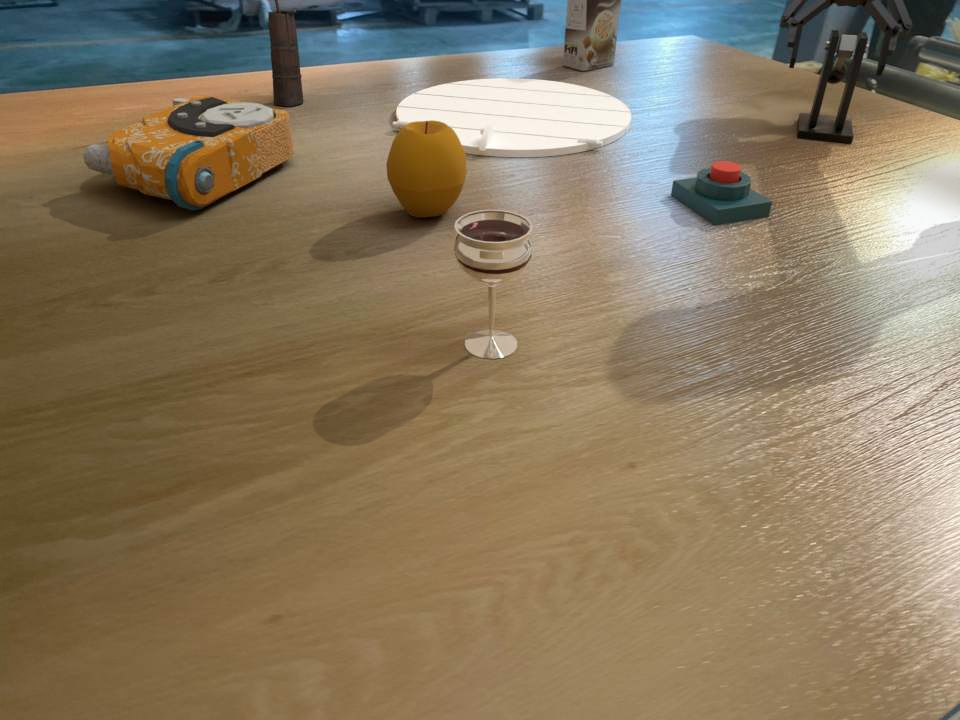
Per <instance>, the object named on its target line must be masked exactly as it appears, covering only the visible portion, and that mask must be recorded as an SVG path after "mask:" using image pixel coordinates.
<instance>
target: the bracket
mask: <svg viewBox="0 0 960 720" xmlns="http://www.w3.org/2000/svg"><path fill="white" fill-rule="evenodd" d="M839 40H840V32H839V29H837V30H836V29H832V30H831V31H830V35H829V39H826V40H825V44H824V48H823V50H824V51H825V55H824V59H823V62H822V66H821V71H820V73H819V74H820V75H819V78H818V82H817V85H816V90H815V93H814V97H813V102H812V105H811V109H810V113H808V112H806V113H805V112H799V114H798V118H797V132H796V133H797V134H796V136H797V137H796V138H797V139H803V140H812V141H821V142H829V143H839V144H847V145H848V144H849V145H852V143H853V140H854V131H853V123H852V118H851V117H847V115H848V113H849V108H850V105H851V102H852V99H853V94H854V92H855V88H856V85H857V80H858V77H859V75H860V74H859V73H860V69H861V67H862V63H863V59H864V57H865V56H864V55H865V54H867V53H868V51H869V50H868V49H869V47H870V43H868V42H869V36H868V33H867V32H863V31H859V33H858V36H857V41H856V45H855V50H854V53H853V55H852V57H851V62H850V66H849V70H848V72H847V77H846V81H845V84H844V88H843V91H842V96H841V99H840V103H839V105H838V110H837V114H836V116H835V115H827V114H820V112H821V109H822V104H823V101H824V97H825V93H826V89H827V85H828V78H829V74H830V70H831V67H832V63H833V61H834V59H835V56H836V52H837V48H838V43H839Z"/></svg>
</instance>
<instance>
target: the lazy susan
mask: <svg viewBox="0 0 960 720" xmlns="http://www.w3.org/2000/svg"><path fill="white" fill-rule="evenodd" d="M395 117H396V121H393V122H392V127H393V128H398V129H400V130H401V129H402V128H403V127H404V126H406V125H407V124H409V123H411V122H417V121H431V120H433V121H440V122H442V123H445V124H446V125H448V126H449V127H451V128H452V129H453V130H454V132H455V133H456V135H457V136H458V138H459V140H460V143H461V145H462V147H463V149H464V151H465V154H467V155H475V156H483V157H484V156H485V157H497V158H545V157H547V158H548V157H557V156H565V155H572V154H577V153H582V152H583V153H584V152H588V151H591V150H595V149H599V148H603V147H604V146H608V145H609V144H612V143H614V142H616V141H618V140H620V139H621V138H622V137H623V136H624V135H625V134H627V133H628V131H629V130H630V128H631V124H632V112H631V110H630V108H629V107H628V106H627V105H626V104H625V103H624V102H623V101H621V100H620V99H618V98H616V97H614V96H612V95H611V94H608V93H605V92H603V91H601V90H597V89H594V88H590V87H586V86H583V85H579V84H573V83H568V82H562V81H555V80H546V79H538V78H537V79H536V78H519V77H517V78H516V77H515V78H513V77H511V78H510V77H498V78H497V77H496V78H495V77H494V78H481V79H480V78H477V79H468V80H459V81H453V82H448V83H442V84H438V85H434V86H430V87H427V88H424V89H421V90H418V91H416V92H414V93H412V94H409V95H408V96H407V97H405V98H403V99H402V100H401V101H400V102H399V104H398V105H397V106H396V110H395Z"/></svg>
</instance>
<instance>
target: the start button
mask: <svg viewBox="0 0 960 720" xmlns="http://www.w3.org/2000/svg"><path fill="white" fill-rule="evenodd" d="M710 168H711V170H710V175H709V179H711V180H712V181H716V182H719V183H729V184H731V183H737V182H738V181H739V176H740V172H742V166H741V165H740V164H738V163H737V162H732V161H726V160H721V161H719V160H718V161H713V162H712V163H711V165H710Z"/></svg>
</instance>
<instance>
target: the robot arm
mask: <svg viewBox="0 0 960 720" xmlns="http://www.w3.org/2000/svg"><path fill="white" fill-rule="evenodd" d="M808 1H809V0H792V1H791V3H790V4H788V6H787V8H786V9H784V11H783V13H781V17H780V20H779V24H778V26H779V28H781V29H784V28H786V29H787V30H788V35H787V40H786V47H787V48H792V51H791V56H790V61H789V65H788V68H789V69H794V68H795V65H796V61H797V57H798V52H799V47H800V42H801V37H802V33H803V28H804V26H805V25H806V24H808V23H809V22H810V21H812V19H814V18H815V17H816V16H818V15H819V14H820V13H822V12H823V11H824V10H827V9H829V8H830V7H832V6H833V5H834V4H835V5H836V7H850V8H857V7H861V9H862V10H863V11H864V12H866V13H868V14H869V16H870V17H871V18H872V19H873V21H874V22H875V23H876V25H877V26H878V28H879V29H880V30H881V31H882V32H883V34H884V35H883V38H882V40H881V46H880V50H879V56H878V62H877V66H876V72H875V76H877V77H881V76H882V74H883V72H884V70H885V68H886V64H887V60H888V56H890V57H892V56H893V55H894V53H895V51H896V49H897V42H898V39H899V38H900V37H902V38H907V36H909V34H910V32H911V30H912V28H913V25H914V24H913V21H912V19H911V16H910V14H909V11H908V9H907V6H906V4H905V2H904V0H886V3H887V6H888V8H889V10H888V9H887V8H886V7H885V5H884V4H883V3H882V1H881V0H814V1H813V2H812V3H810V4H809V5H808V6H807V7H805V8H804V9H803V10H801V9H802V8H803V7H804V5H805V4H806V3H807V2H808ZM889 11H890V12H889Z"/></svg>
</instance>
